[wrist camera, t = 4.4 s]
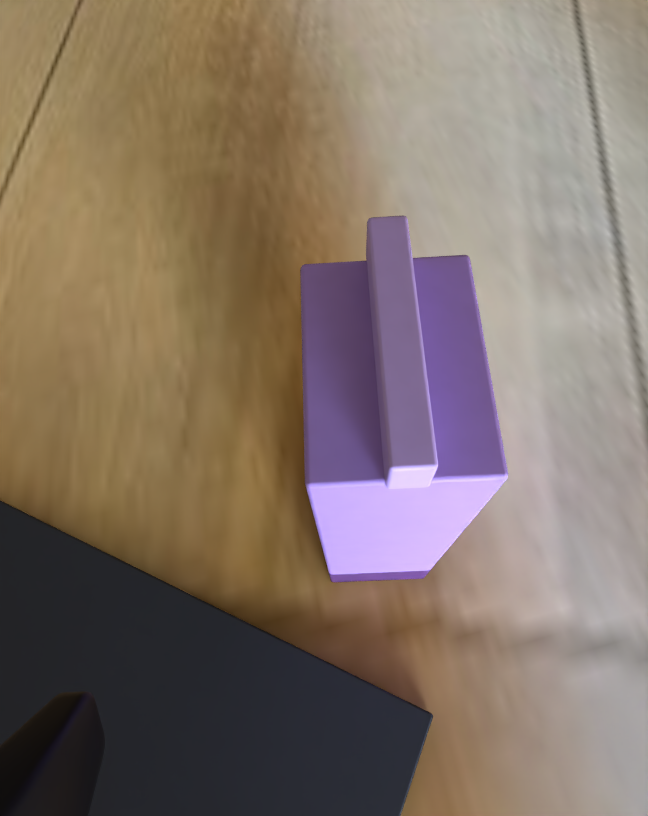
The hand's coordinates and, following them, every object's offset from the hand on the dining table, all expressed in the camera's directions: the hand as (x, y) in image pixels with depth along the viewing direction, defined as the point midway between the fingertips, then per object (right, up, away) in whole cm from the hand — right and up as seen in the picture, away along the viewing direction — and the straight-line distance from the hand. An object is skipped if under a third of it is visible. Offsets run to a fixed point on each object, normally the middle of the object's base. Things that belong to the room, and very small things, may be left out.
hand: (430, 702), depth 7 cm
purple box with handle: (0, 0, +13) cm, 13 cm away
